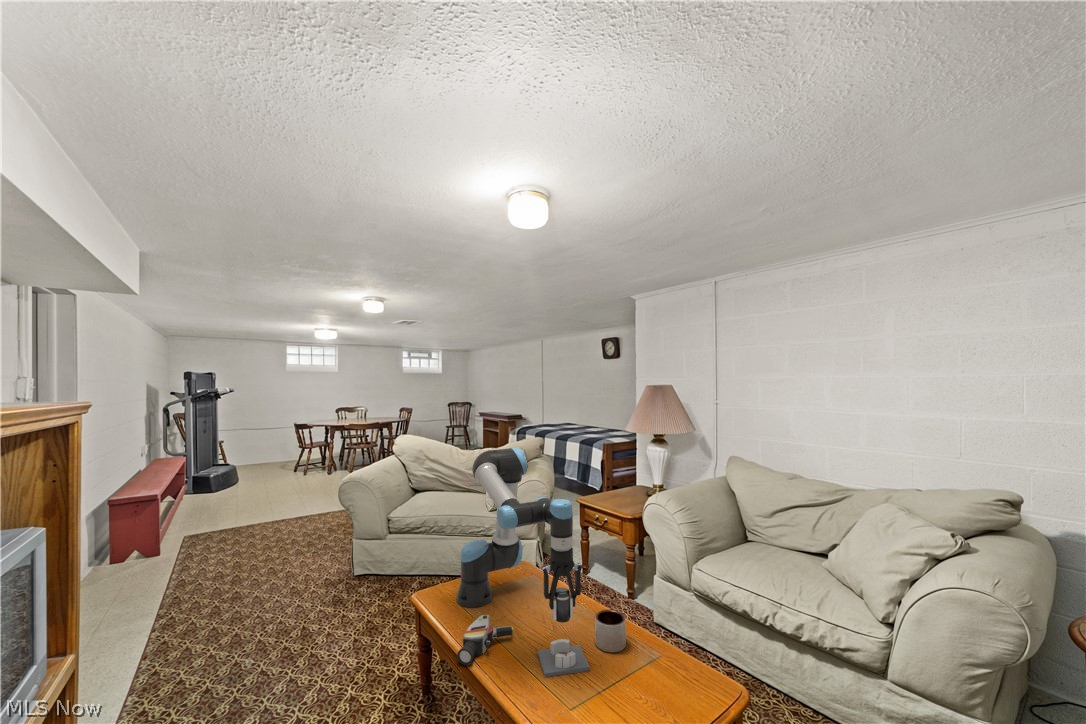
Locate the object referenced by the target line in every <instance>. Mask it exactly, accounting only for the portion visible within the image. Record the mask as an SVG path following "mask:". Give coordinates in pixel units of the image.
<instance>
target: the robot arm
mask: <svg viewBox="0 0 1086 724" xmlns="http://www.w3.org/2000/svg"><path fill="white" fill-rule="evenodd" d="M471 469H472V474H473V478H474V479H475V481H476V483H478V484H480V485H481V486H482V487H483V489H484V490H485V491H486V493H487V494H488V496H489V498H490V499H491V501H492V502H493V504H494V505H495V507H496V520H495V522H496V523H495V532H494V534H493V535H492V537H491V542H488V540H485V539H475V540H472V541H469V542H467V543H465V544H464V545H463V546H462V548H461V551H460V558H459V560H460V583H459V587H458V590H457V592H456V602H457V603H458V605H460V606H461V607H465V608H478V607H483V606H486V605H488V604H489V603H491V601H492V600H493V591H492V587H491V584H490V580H489V573H491V572H496V571H501V570H504V569H511V568H514V567H517V566H518V565H519V564H520V563H521V561H522V559H523V551H524V550H523V544H522V541H521V539H520V538H519V537H518V535H517V534H516V528H520V527H526V526H531V525H537V524H542V523H547V525H549V526H550V562H549V565H546V566H544V565H543V566H542V567H541V570H542V573H543V596H544V599H545V600H549V601H548V606H549V609H550V610H551V611H552V617H551V618H553V621H556V599H555V592H556V589H557V587H558V582H559V580H560V577H565V578H566V581H567V585H568V586H567V587H568V588H569V589H568V590H569V591H570V620H571V619H573V618H574V614H573V613H574V612H573V611H574V610H573V608H575V607H576V598H577V596H581V594H582V591H581V589H582V587H581V585H582V583H581V572H582V569H583V567H582V564H581V563H579V562H574V549H573V545H574V543H573V542H574V539H573V535H574V534H573V533H574V532H573V531H574V530H573V525H574V521H573V517H574V516H573V515H574V511H573V503H572V501H570V499H565V498H555V499H551V498H549V497H545V496H541V497H538V498H537V499H535V500H534V501H527V502H522V503H520V501H519V500H518V490H519V489H518V487H519V485H518V484H520V483H521V482H522V478H523V476H524V475H526V474H527V472H528V462H527V457H526V454H525V452H524V451H523V450H522V449H521V448H518V447H510V448H501V449H490V450H485V451H483V452H481V453H480V454H479V455H478V456H476V458H475V460H474V462H473V465H472V468H471ZM573 569H574V575H575V576H574V577H575V578H574V579H575V580H574V583H575V585H574V584H573V581H572V580H573V579H572V575H571V572H572V570H573ZM551 571H552V572H553V574H552V579H551V583H549V581H550V578H549V574H550V572H551ZM550 584H551V585H550ZM549 585H550V586H549ZM574 586H575V588H574ZM549 587H550V588H549Z"/></svg>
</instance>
